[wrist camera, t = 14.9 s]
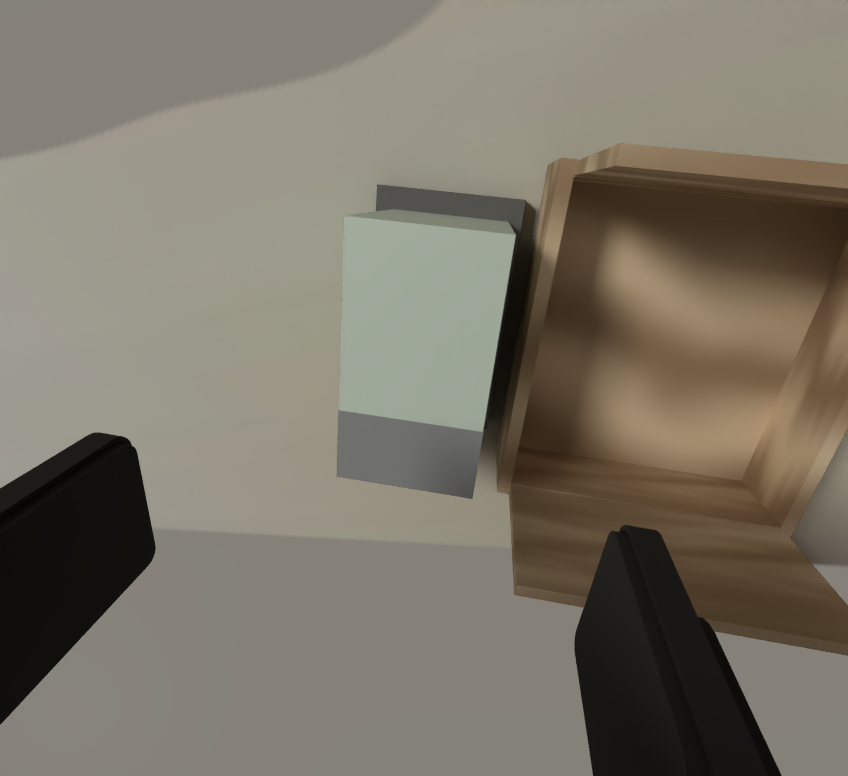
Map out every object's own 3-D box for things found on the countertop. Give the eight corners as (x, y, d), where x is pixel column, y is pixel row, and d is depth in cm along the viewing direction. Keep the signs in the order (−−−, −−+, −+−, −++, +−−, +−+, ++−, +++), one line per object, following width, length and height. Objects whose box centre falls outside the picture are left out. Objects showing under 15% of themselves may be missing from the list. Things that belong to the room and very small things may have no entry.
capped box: (393, 208, 22) (343, 215, 15) (508, 221, 22) (516, 235, 14) (380, 397, 26) (336, 476, 19) (478, 412, 26) (472, 498, 18)
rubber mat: (381, 185, 23) (377, 184, 22) (524, 200, 22) (526, 200, 21) (369, 404, 28) (365, 411, 27) (487, 421, 27) (486, 429, 26)
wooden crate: (548, 164, 21) (596, 138, 11) (871, 196, 20) (1244, 198, 10) (496, 447, 28) (498, 593, 17) (743, 485, 26) (897, 665, 16)
